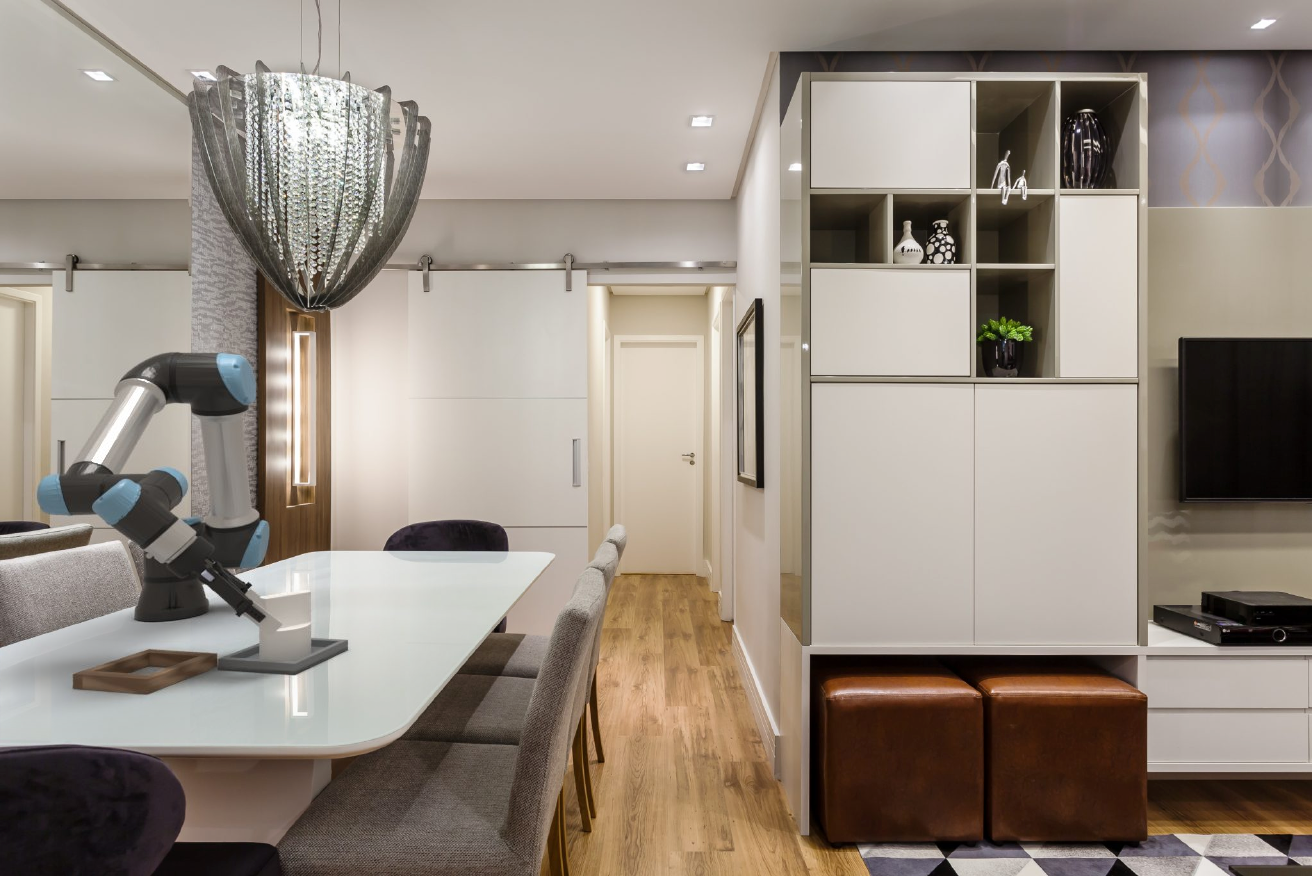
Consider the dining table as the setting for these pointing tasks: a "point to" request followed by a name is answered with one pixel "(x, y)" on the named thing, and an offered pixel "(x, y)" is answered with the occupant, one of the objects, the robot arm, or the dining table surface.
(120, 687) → the walnut collar
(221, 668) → the charcoal tray
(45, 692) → the dining table surface
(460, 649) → the dining table surface
